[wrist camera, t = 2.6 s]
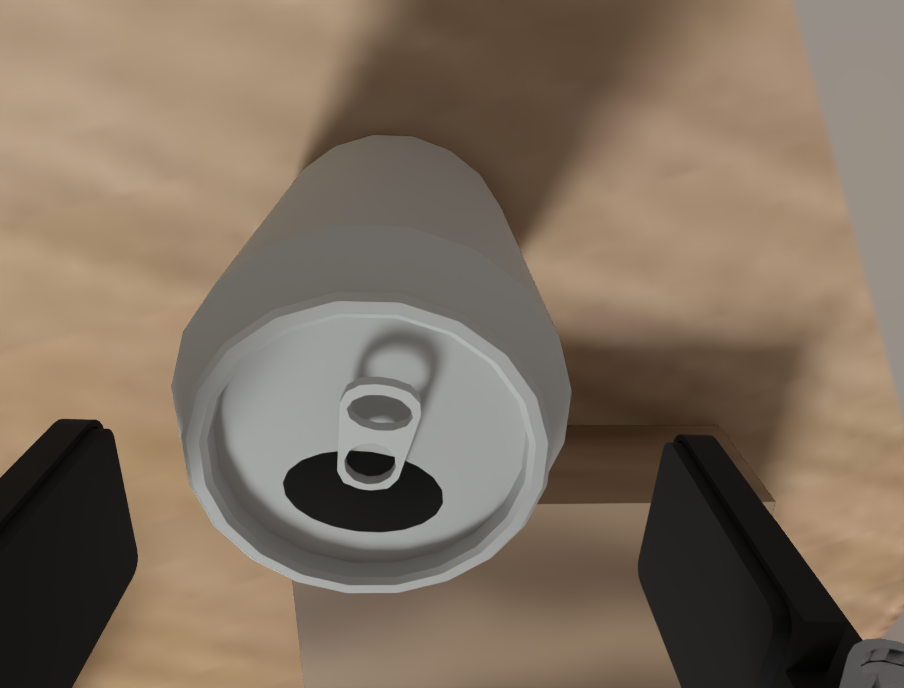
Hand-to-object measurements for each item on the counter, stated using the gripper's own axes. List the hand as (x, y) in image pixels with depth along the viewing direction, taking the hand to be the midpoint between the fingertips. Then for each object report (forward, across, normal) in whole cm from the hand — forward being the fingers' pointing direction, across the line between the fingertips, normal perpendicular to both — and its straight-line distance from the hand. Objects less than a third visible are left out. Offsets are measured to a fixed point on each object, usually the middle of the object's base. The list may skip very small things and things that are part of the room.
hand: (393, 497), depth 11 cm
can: (+12, +1, -1) cm, 12 cm away
